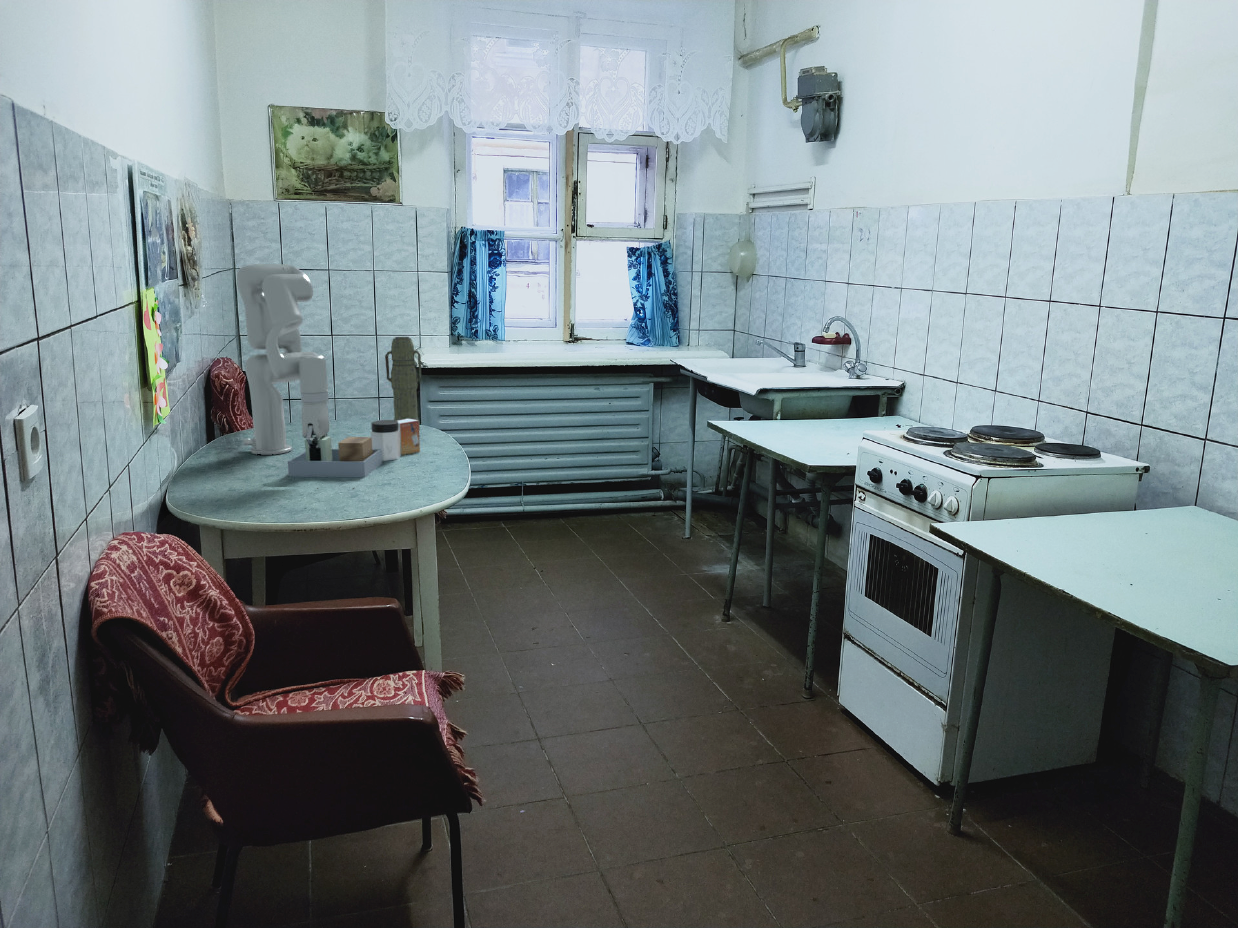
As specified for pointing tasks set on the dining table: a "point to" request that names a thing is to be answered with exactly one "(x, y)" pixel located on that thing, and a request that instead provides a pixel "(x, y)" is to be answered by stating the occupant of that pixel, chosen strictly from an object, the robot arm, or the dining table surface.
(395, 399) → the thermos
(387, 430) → the jar
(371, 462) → the box
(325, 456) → the pale green block
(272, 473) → the dining table surface
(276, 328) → the robot arm
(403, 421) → the small box
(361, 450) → the walnut block
